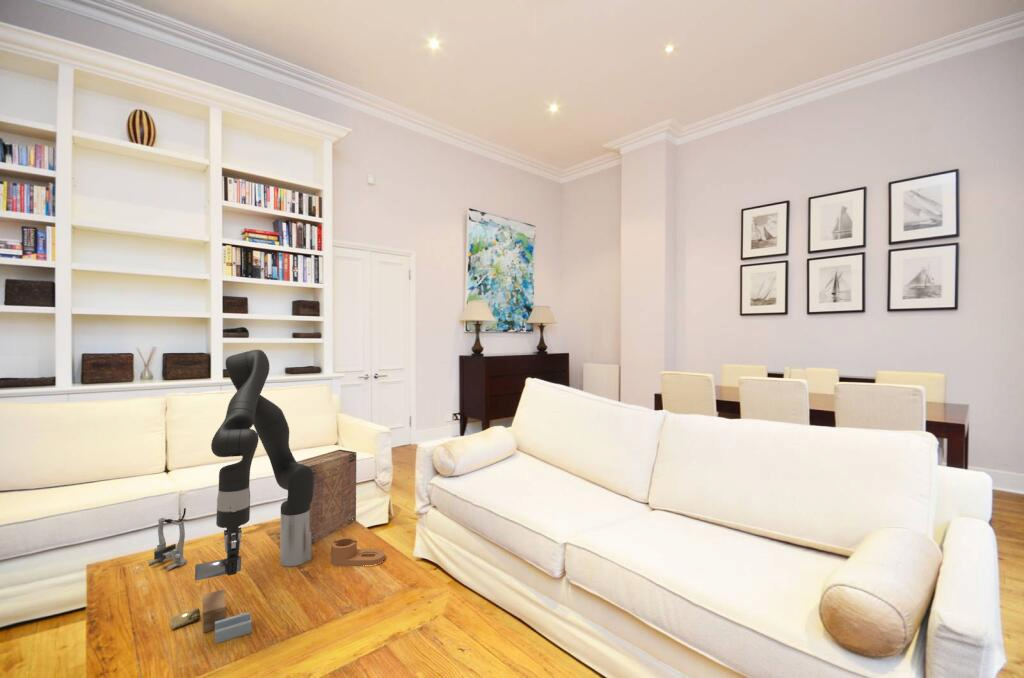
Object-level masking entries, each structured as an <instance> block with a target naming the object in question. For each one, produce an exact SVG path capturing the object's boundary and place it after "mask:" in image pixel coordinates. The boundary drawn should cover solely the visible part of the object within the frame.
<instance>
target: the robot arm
mask: <svg viewBox="0 0 1024 678" xmlns="http://www.w3.org/2000/svg"><path fill="white" fill-rule="evenodd" d="M225 369H226V373H227V374H228V377H229V379H230V380H231V383H232V384H233V387H234V388H235V389H236V392H235V394H233V396H232V397H231V399H230V400H229V403H228V406H227V410H226V412H225V413H226V414H225V418H224V420H223V422H222V423H221V424H220V426H219V428H218V429H217V430H216V432H215V434H214V435H213V437H212V440H211V444H210V446H211V447H210V448H211V452H212V454H213V455H214V456H216V457H218V458H229V457H230V458H233V457H241V460H239V461H238V462H235V463H231V464H227V465H224V466H223V467H221V468H220V469H219V473H218V491H217V497H216V520H215V521H216V524H215V525H216V526H217V527H218V528H221V529H224V530H223V540H224V551H225V553H226V558H225V559H226V560H227V574H226V575H227V576H233V575H236V574H238V572H237V560H238V558H239V556H240V554H239V553H240V550H241V539H242V537H243V533H242V527H240V526H243V525H246V524H247V523H248V522H249V521H250V515H251V514H250V513H251V491H250V489H251V488H250V477H251V476H250V475H251V468H252V467H251V466H252V462H253V459H254V455H255V453H256V451H257V448H258V444H259V440H260V442H261V443H262V444H261V445H262V446H263V448H264V451H265V453H266V455H267V456H268V460H269V461H270V466H271V468H272V471H273V475H274V478H275V481H276V483H277V485H278V486H279V487H280V488H282V489H283V490H286V491H287V499H286V500H285V501H283V502H282V503H281V505H280V540H279V541H280V546H279V547H280V549H279V550H280V551H279V554H280V555H279V556H280V558H279V559H280V560H279V561H280V565H281V566H283V567H291V568H292V567H296V566H301V565H303V564H305V563H307V562H309V561H312V544H311V531H310V504H311V502H312V499H313V485H314V475H313V471H312V469H311V468H310V467H309V466H306V465H303V464H299V463H297V460H296V459H295V457H294V455H293V453H292V451H291V448H290V442H289V441H290V427H289V424H288V421H287V419H286V416H285V414H284V412H283V410H282V409H281V408H280V407H279V406H278V405H277V404H275V403H274V402H273V401H271V400H269V399H267V398H266V397H264V396H263V395H262V394H261V393H262V391H263V388H264V386H265V383H266V381H267V379H268V376H269V374H270V360H269V358H268V356H267V354H266V353H265V352H264V350H261V349H252V350H249V351H244V352H240V353H236V354H233V355H230V356H227V357H226V359H225ZM252 427H254V429H252Z"/></svg>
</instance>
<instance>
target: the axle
mask: <svg viewBox="0 0 1024 678" xmlns="http://www.w3.org/2000/svg"><path fill="white" fill-rule="evenodd" d="M194 567H195V569H194V581H195V582H196V581H197V582H198V581H200V580H205V579H211V578H214V577H219V576H224V575H227V560H226V558H221V559H218V560H211V561H207V562H202V563H197V564H195V566H194ZM238 572H239V573H240V572H242V555H239V558H238V560H237V573H238Z"/></svg>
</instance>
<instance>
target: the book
mask: <svg viewBox="0 0 1024 678" xmlns="http://www.w3.org/2000/svg"><path fill="white" fill-rule="evenodd" d="M296 462H297V463H299V464H303V465H306V466H309V467H310V468H311V469H312V471H313V475H314V485H313V499H312V502H311V504H310V531H311V545H312V544H315V543H316V542H318V541H320V540H322V539H324V538H326V537H327V536H330V535H331V534H333V533H336V532H337V531H339V530H341V529H343V528H345V527H347V526H349V525H351V524H353V523H354V521H355V522H356V521H357V451H352V450H344V449H337V450H333V451H329V452H326V453H323V454H320V455H316V456H313V457H307V458H305V459H301V460H296ZM352 519H353V520H352Z"/></svg>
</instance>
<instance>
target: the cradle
mask: <svg viewBox="0 0 1024 678" xmlns="http://www.w3.org/2000/svg"><path fill="white" fill-rule="evenodd" d="M252 629H253V627H252V619H251V612H250V611H247V612H244V613H239V614H237V615H234V616H230V617H229V616H228V617H226V619H222V620H219V621H215V630H214V640H215V641H214V644H219V643H222V642H225V641H229V640H231V639H235V638H238V637H241V636H245V635H248V634H251V633H252Z"/></svg>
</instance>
